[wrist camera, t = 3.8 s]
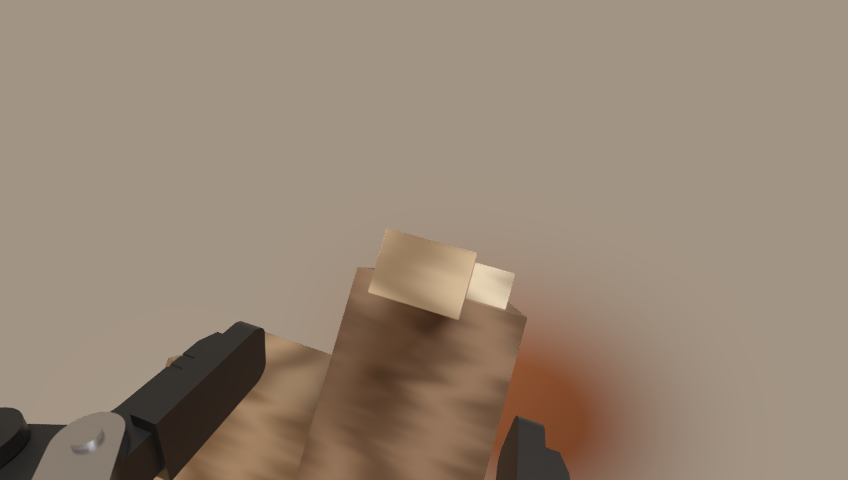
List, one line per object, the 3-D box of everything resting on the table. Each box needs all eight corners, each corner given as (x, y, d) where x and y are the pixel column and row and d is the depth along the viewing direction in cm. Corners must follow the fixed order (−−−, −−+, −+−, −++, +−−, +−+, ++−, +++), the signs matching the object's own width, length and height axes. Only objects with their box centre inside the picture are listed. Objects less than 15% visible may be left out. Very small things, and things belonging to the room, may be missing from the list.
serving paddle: (496, 299, 34) (503, 273, 34) (534, 343, 13) (553, 274, 13) (406, 272, 36) (413, 248, 36) (301, 271, 14) (320, 209, 14)
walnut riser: (416, 644, 33) (508, 302, 35) (384, 851, 21) (527, 317, 23) (199, 544, 37) (292, 238, 38) (67, 674, 25) (210, 223, 26)
